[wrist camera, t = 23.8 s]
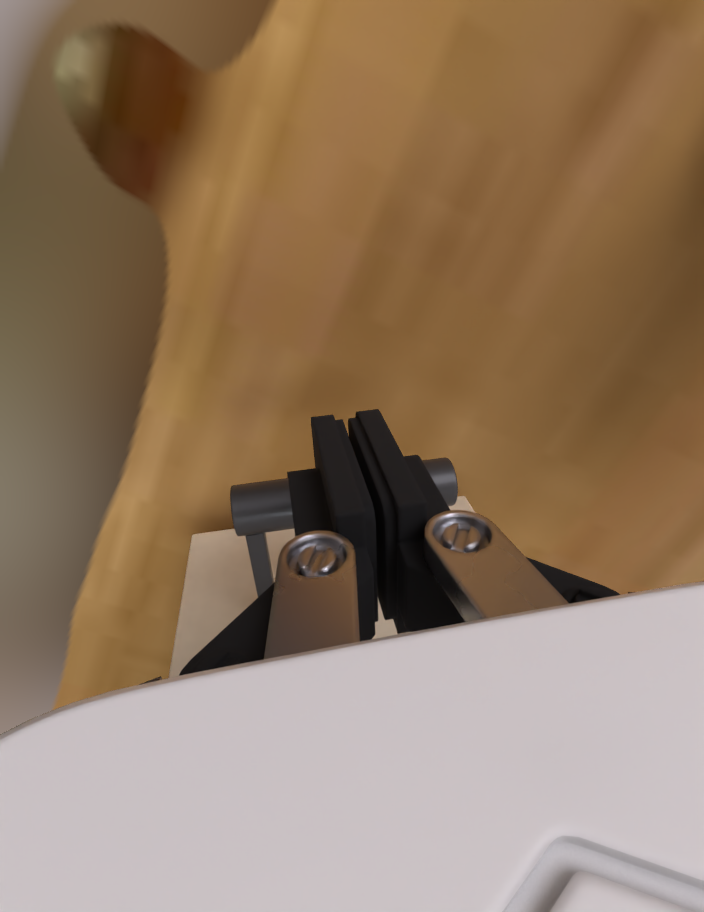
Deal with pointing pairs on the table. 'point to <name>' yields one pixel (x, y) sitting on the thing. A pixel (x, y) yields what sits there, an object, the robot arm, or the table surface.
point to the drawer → (255, 560)
